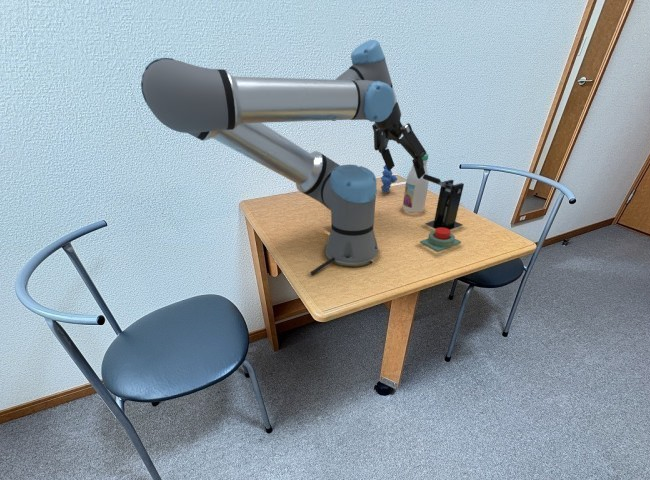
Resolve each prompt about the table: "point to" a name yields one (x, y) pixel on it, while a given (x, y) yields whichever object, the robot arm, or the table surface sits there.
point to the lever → (438, 182)
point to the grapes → (387, 179)
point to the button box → (440, 242)
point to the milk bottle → (415, 190)
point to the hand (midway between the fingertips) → (405, 171)
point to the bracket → (451, 207)
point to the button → (442, 233)
